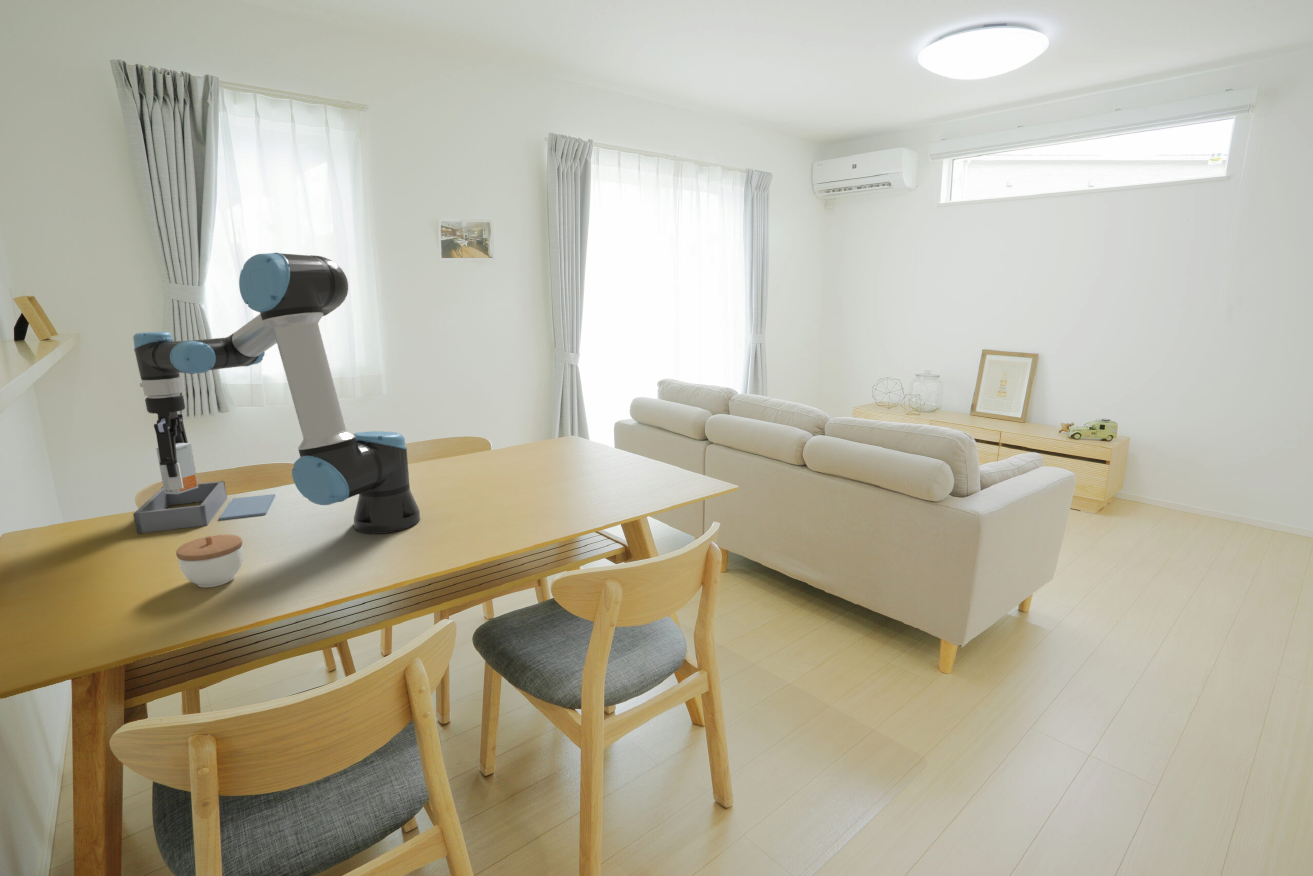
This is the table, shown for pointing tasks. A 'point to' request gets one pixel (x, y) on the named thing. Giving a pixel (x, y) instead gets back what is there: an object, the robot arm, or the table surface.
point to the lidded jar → (211, 559)
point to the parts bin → (160, 518)
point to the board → (248, 506)
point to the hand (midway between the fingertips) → (181, 484)
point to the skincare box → (181, 469)
